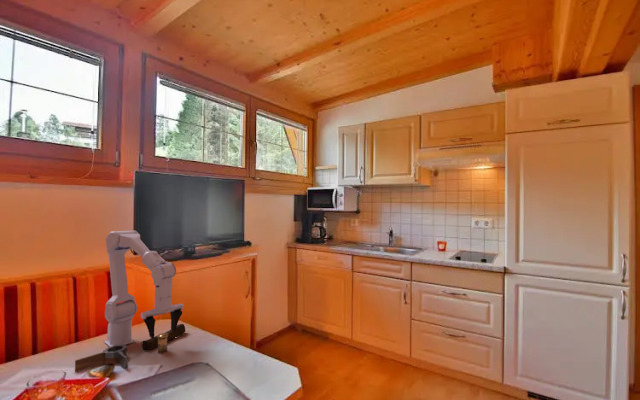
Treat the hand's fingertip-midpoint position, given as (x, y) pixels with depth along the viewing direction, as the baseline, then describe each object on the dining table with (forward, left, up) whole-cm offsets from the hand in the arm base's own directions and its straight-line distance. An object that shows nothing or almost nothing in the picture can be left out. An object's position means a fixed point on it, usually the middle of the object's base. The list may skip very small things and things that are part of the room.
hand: (162, 333), depth 111 cm
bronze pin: (0, 0, -6) cm, 6 cm away
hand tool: (-9, +5, -7) cm, 13 cm away
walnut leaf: (-7, -17, -6) cm, 19 cm away
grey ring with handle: (-3, -13, -6) cm, 15 cm away
